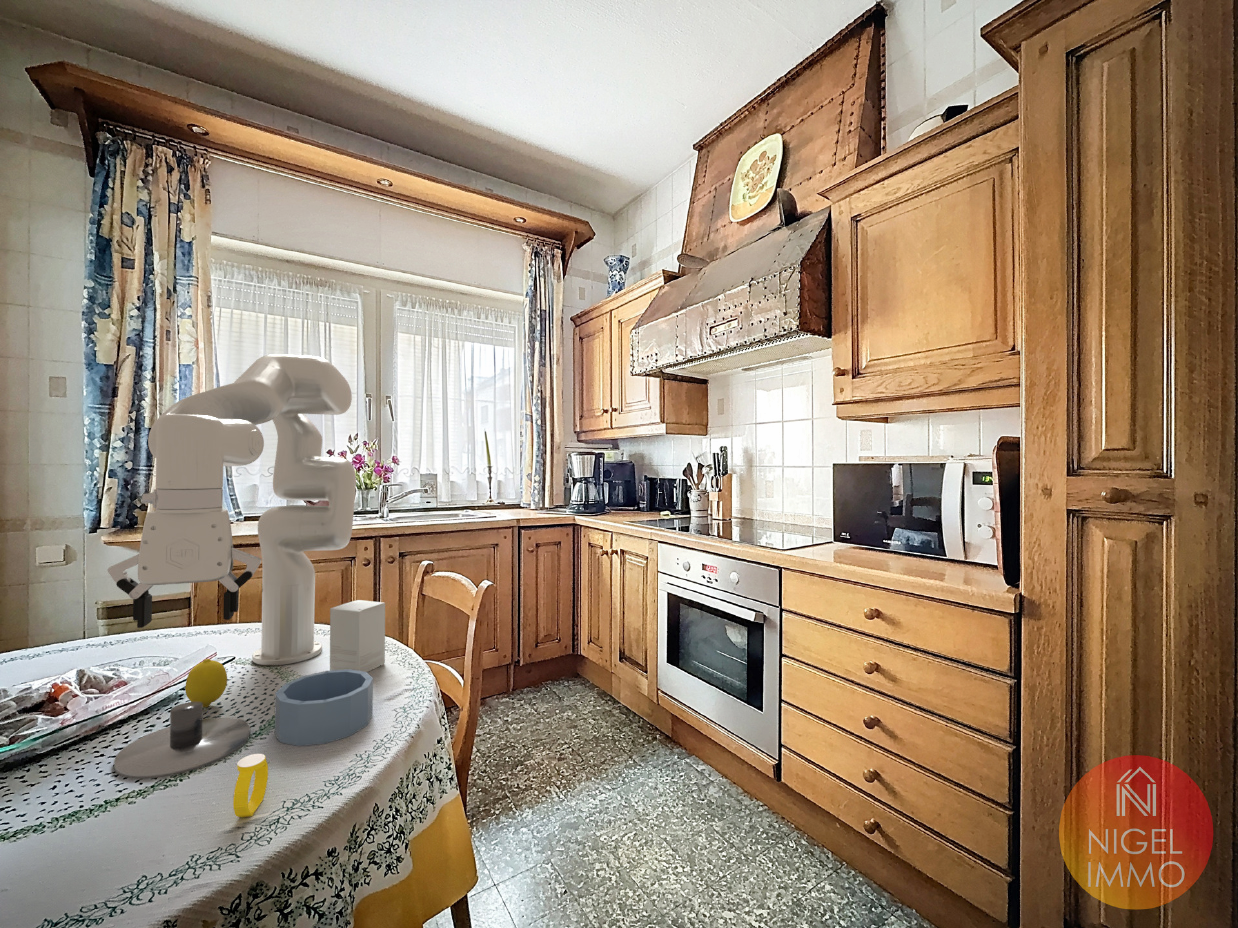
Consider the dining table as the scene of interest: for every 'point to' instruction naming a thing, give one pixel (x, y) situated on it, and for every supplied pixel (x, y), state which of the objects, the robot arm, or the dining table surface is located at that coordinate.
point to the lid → (182, 744)
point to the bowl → (323, 707)
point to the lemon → (206, 682)
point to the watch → (243, 784)
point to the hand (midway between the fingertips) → (187, 621)
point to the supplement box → (357, 636)
